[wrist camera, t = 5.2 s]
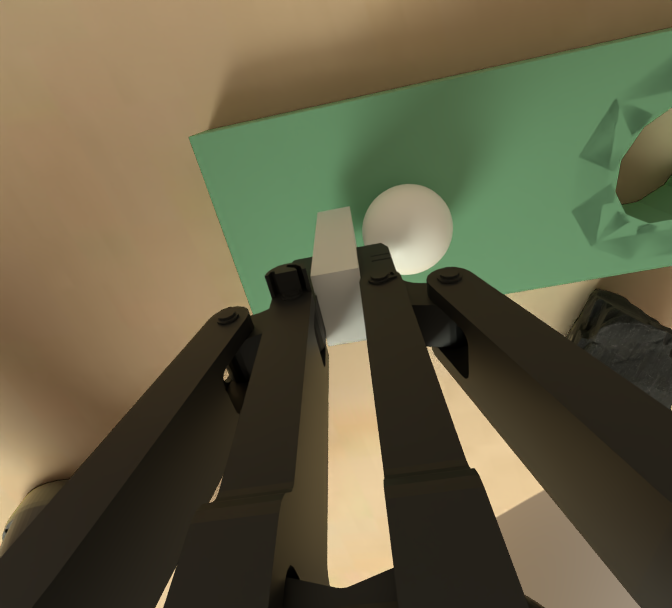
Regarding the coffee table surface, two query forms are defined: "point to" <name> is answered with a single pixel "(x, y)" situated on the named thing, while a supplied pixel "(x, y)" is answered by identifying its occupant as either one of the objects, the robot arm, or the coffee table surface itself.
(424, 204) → the ball
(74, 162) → the coffee table surface
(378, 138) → the green
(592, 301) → the mineral
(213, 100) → the coffee table surface
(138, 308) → the coffee table surface
